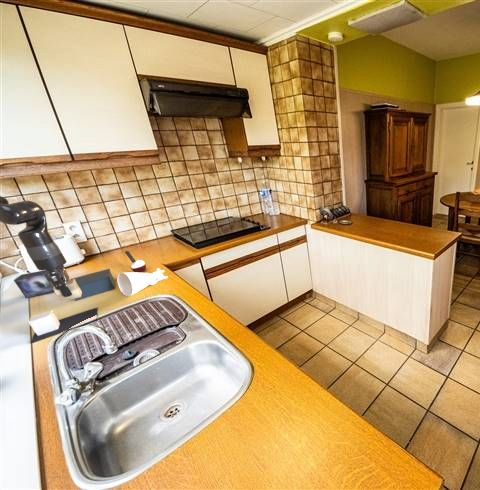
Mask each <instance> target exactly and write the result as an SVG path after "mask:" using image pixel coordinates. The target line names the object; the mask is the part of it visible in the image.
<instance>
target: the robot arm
mask: <svg viewBox="0 0 480 490" xmlns="http://www.w3.org/2000/svg"><path fill="white" fill-rule="evenodd" d="M0 223H2V224H6V225H10V226H18V225H19V226H20V225H22V224H25V227H24V228H22V229H21V230H20V231H19V232H18V233H17V236H18V238H19V241H20V242H21V243H22V245H23V246H24V248H25V250H26V253H27V255H28V256H29V258H30V260H31V261H32V263H33V265H34V266H35V268H36V270H38V271H44V270H48V272H49V273H48V276H49V280H50V281H51V282H52V284H53V285H54V287H55V288H56V289H57V290H59V289H60V291H61V293H62V294H63V296H64V297H68V296H71V295H72V293H71V291H70V289H69V288H68V285H67V283H66V281H68V280H70V279H71V278H70V275H69V274H68V272H67V270H66V267H65V264H67V260H66V258H65V256H64V254H63V252H62V250H61V249H60V247H59V246H58V244H57V243H56V242H55V241H54V239H53V237H52V235H51V233H50V232H49V229H48V222H47V216H46V212H45V210H44V208H43V207H42V206H41V205H40V204H39V203H37V202H36V201H32V200H22V201H17V202H13V203H12V202H11V203H10V201H9V200H8V199H7V198H6V197H4V196H2V195H0ZM59 284H62V285H61V286H59Z"/></svg>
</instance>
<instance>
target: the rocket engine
mask: <svg viewBox="0 0 480 490" xmlns="http://www.w3.org/2000/svg"><path fill="white" fill-rule="evenodd" d="M164 273H165V270H164V269H162V270H161V269H160V268H156V270H155V271H152V272H151V273H150V272H141V273H140V272H134V271H132V272H131V271H129V272H128V271H125V272H119V273H118V275H117V279H116V280H117V286H118V288H119V290H120V292H121V293H122V294H123V296H125V297H131V296H133V295H135V294H138V293H139V292H140V291H142V290H144V289H145V288H147V287H148V286H153V285H156V284H157V283H158V282H160V281H163V280H167V279H168V278H169V276H168V275H164Z"/></svg>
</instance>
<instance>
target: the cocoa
mask: <svg viewBox="0 0 480 490" xmlns="http://www.w3.org/2000/svg"><path fill="white" fill-rule="evenodd" d="M124 253H125V255H126V256H127V257H128V259H129V260H130V261H131V265H130V269H131V271H132V272H140V273H145V271H146V270H147V265H146V262H145V261H144V260H142V259H137V260H136V259H135V257H134V256H133V255H132V254H131V252H130V251H129V250H125V252H124Z"/></svg>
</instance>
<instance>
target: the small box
mask: <svg viewBox="0 0 480 490" xmlns="http://www.w3.org/2000/svg"><path fill="white" fill-rule="evenodd" d="M48 273H49V272H48V270H38V271H33V272H27V273H23V274H20V275H18V276H17V277H16V278H15V279H13V282H14V283H15V285H16V286H17V288H18V289H19V291H20V292H21V293H22V296H23V297H24V298H25V299H29V298H34V297H39V296H43V295H48V294H52V293H53V294H54V293H55V292H54V290H53V287H54V285H53V284H52V282H51V281H50V280H49V276H48Z"/></svg>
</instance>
